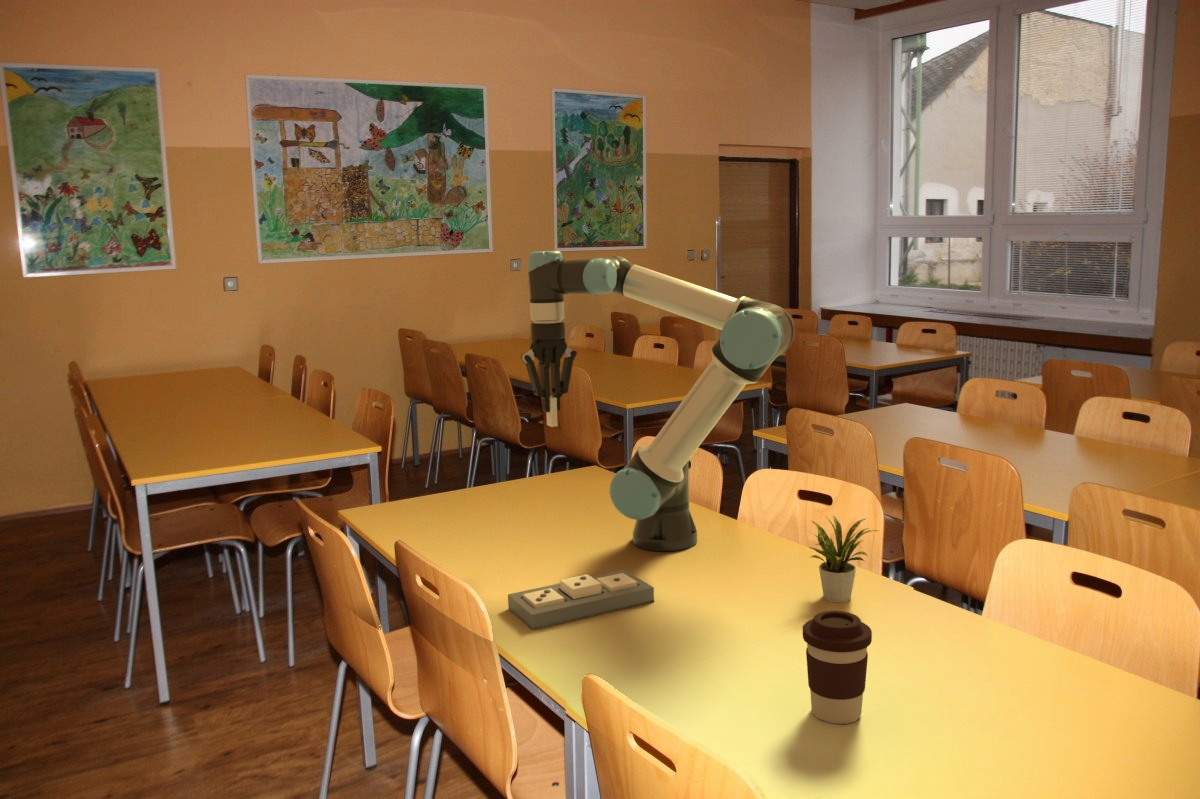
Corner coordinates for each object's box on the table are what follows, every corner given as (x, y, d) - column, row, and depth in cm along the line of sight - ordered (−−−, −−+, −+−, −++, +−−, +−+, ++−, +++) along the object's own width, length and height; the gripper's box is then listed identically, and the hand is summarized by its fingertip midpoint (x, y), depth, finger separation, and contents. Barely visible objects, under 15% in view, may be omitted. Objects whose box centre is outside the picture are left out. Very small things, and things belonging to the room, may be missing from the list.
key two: (587, 583, 195) (587, 573, 194) (601, 593, 189) (601, 582, 189) (560, 589, 192) (560, 578, 192) (573, 599, 187) (573, 588, 186)
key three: (551, 597, 191) (551, 586, 191) (564, 607, 186) (564, 596, 186) (523, 603, 189) (522, 593, 188) (535, 614, 183) (535, 603, 183)
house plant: (887, 589, 194) (888, 510, 191) (875, 614, 182) (876, 530, 179) (815, 580, 200) (815, 504, 197) (799, 605, 188) (799, 523, 185)
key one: (623, 582, 198) (622, 571, 198) (637, 591, 193) (637, 580, 193) (596, 587, 196) (596, 577, 195) (610, 597, 191) (610, 586, 190)
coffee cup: (794, 700, 150) (794, 608, 148) (857, 695, 151) (858, 603, 149) (813, 732, 141) (814, 634, 138) (880, 727, 141) (882, 629, 139)
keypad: (625, 583, 202) (624, 569, 202) (654, 601, 192) (653, 587, 191) (508, 608, 191) (507, 594, 190) (532, 630, 180) (531, 614, 180)
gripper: (567, 318, 222) (571, 419, 226) (513, 322, 216) (519, 426, 220) (581, 320, 215) (585, 424, 219) (527, 324, 209) (532, 432, 213)
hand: (552, 425), depth 220 cm, fingers closed
